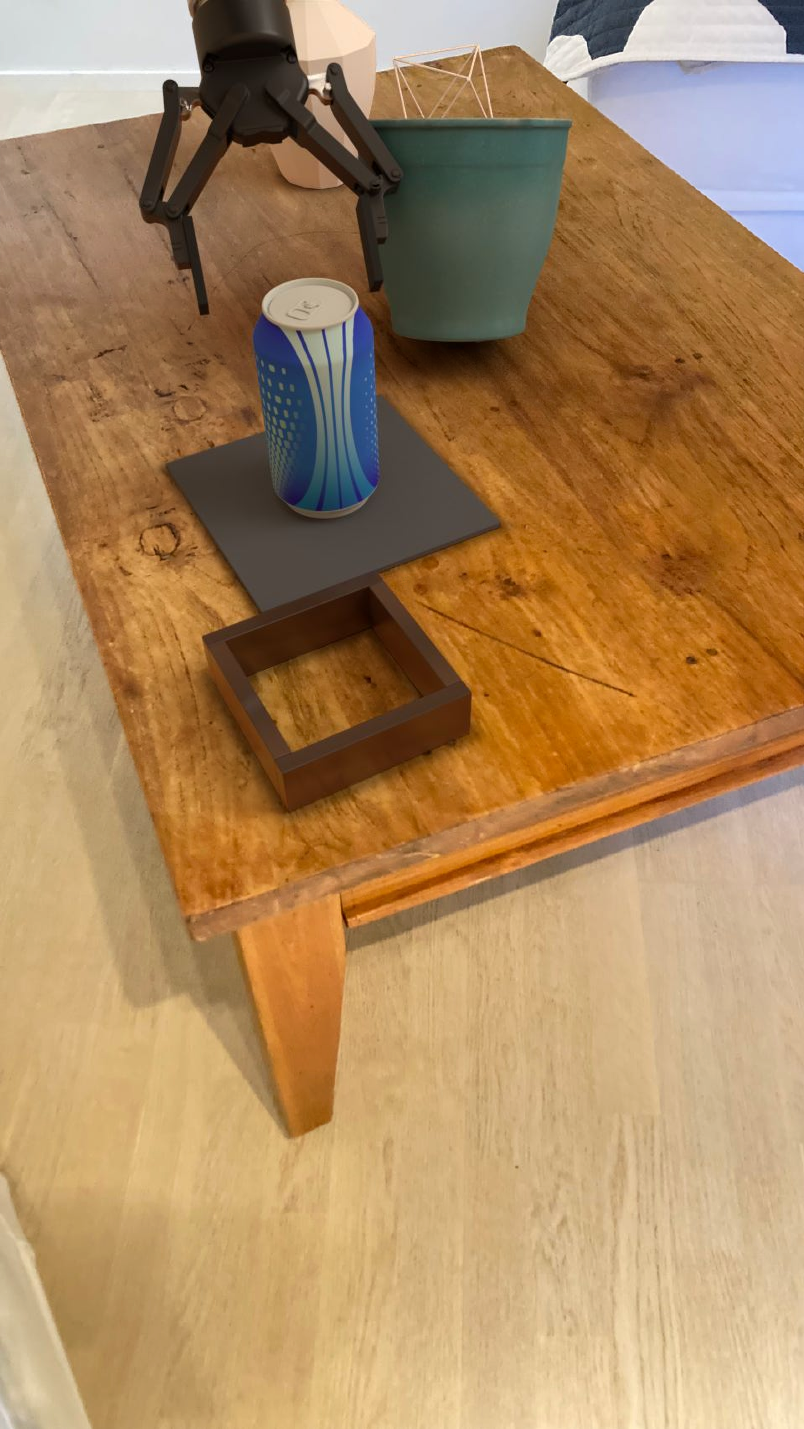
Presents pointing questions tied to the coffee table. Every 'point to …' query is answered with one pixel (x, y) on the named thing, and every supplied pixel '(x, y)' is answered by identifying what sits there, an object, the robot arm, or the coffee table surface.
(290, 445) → the beer can
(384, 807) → the coffee table surface
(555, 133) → the flower pot
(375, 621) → the can holder
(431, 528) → the rubber mat
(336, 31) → the vase
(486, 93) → the geometric polyhedron
